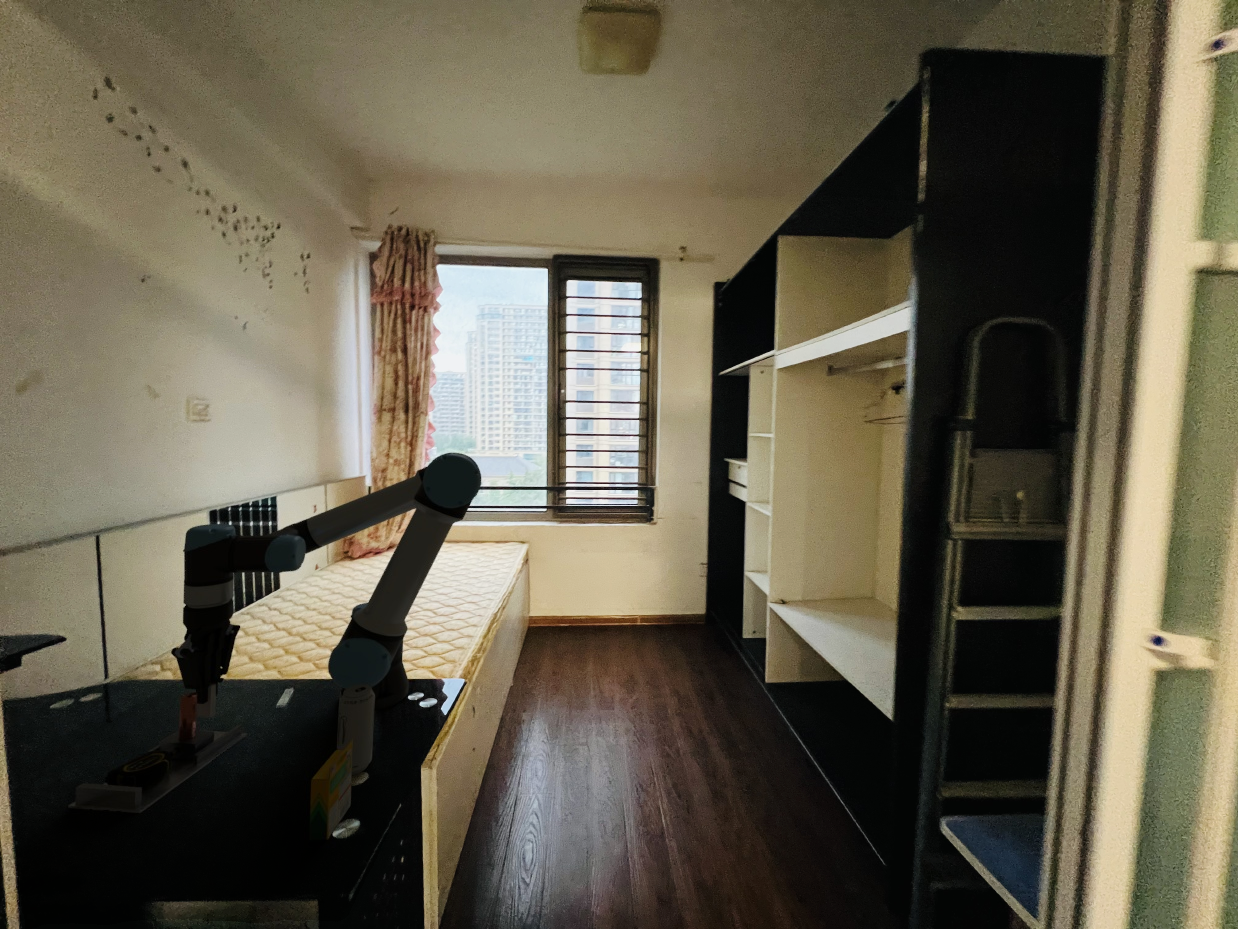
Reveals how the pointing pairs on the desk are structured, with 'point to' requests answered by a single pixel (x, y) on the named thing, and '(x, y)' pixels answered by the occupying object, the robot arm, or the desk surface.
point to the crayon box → (330, 794)
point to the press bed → (147, 795)
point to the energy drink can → (357, 724)
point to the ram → (186, 732)
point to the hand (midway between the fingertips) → (206, 715)
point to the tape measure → (141, 770)
